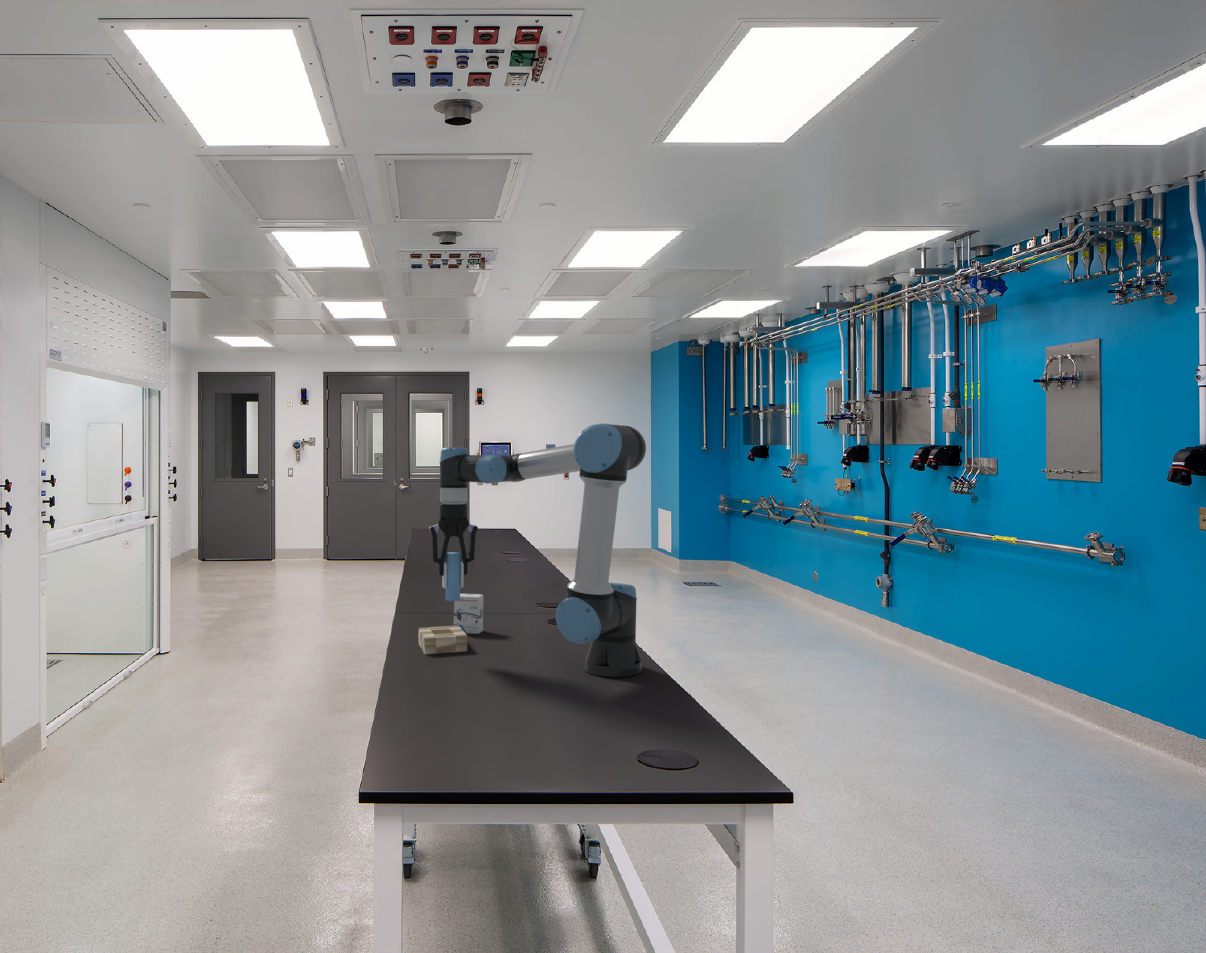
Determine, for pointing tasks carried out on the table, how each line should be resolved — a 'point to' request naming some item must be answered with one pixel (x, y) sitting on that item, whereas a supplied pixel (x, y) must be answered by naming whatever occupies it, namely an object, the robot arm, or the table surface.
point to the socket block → (442, 639)
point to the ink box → (469, 613)
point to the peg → (453, 576)
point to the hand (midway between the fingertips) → (452, 586)
